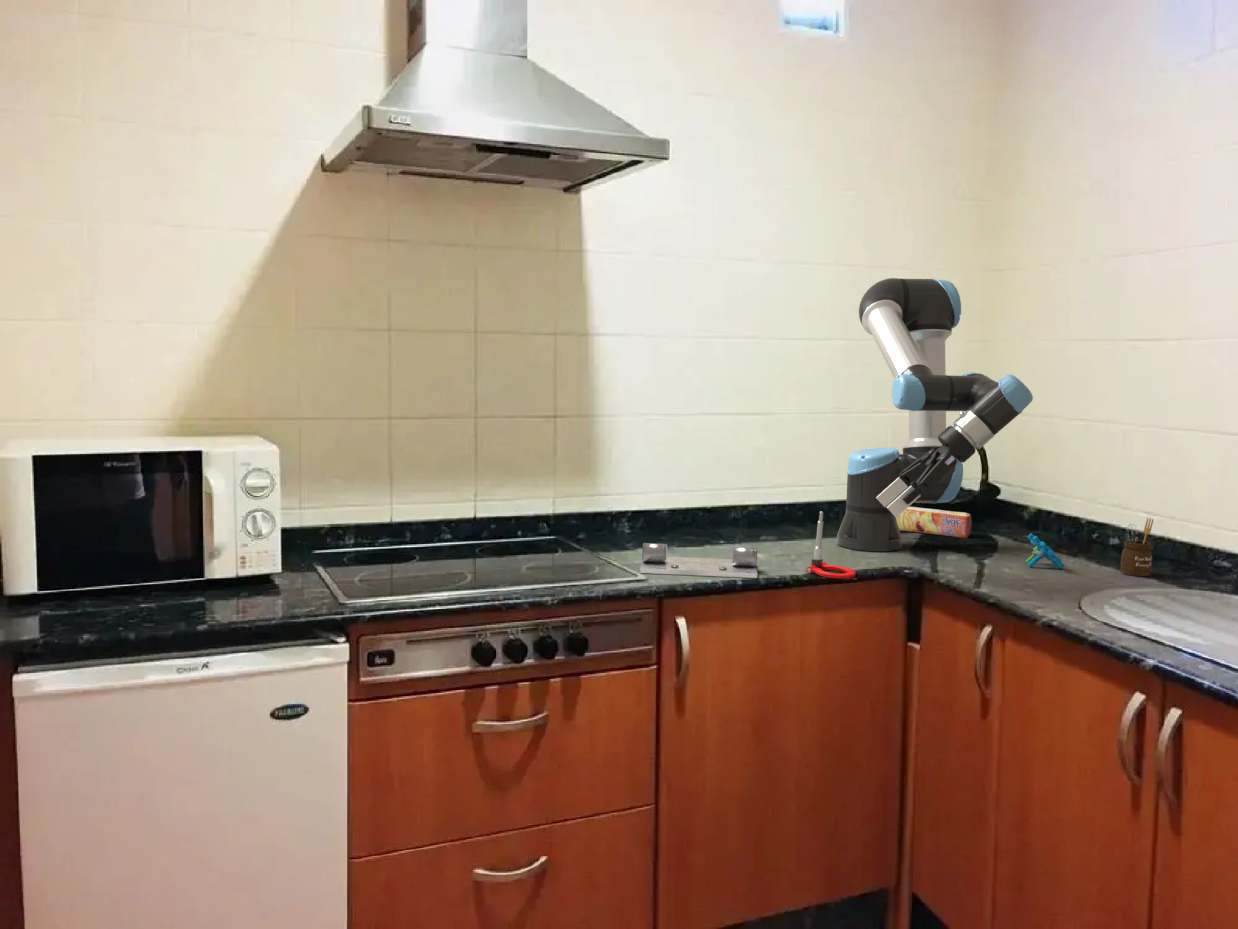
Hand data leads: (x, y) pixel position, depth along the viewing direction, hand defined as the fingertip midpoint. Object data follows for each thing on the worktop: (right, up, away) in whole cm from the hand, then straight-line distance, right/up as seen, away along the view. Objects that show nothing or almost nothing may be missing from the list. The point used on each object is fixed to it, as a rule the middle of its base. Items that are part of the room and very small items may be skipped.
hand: (885, 507), depth 213 cm
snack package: (+25, -9, +54) cm, 60 cm away
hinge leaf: (-38, -13, +5) cm, 41 cm away
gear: (+39, -14, +14) cm, 43 cm away
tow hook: (-10, -14, +3) cm, 18 cm away
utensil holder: (+57, -15, +9) cm, 59 cm away
